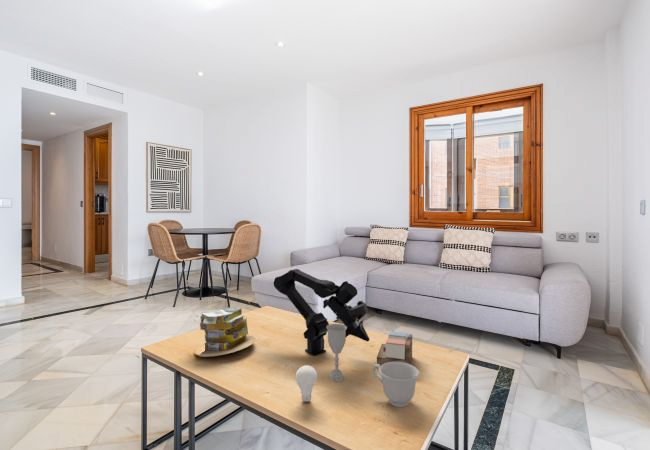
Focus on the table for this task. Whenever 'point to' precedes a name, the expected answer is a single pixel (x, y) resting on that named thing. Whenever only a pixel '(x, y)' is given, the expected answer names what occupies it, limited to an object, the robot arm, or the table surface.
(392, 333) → the slate key
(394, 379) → the teacup
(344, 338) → the chalice
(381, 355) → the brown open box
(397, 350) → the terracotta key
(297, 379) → the light bulb
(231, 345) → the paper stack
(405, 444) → the table surface
